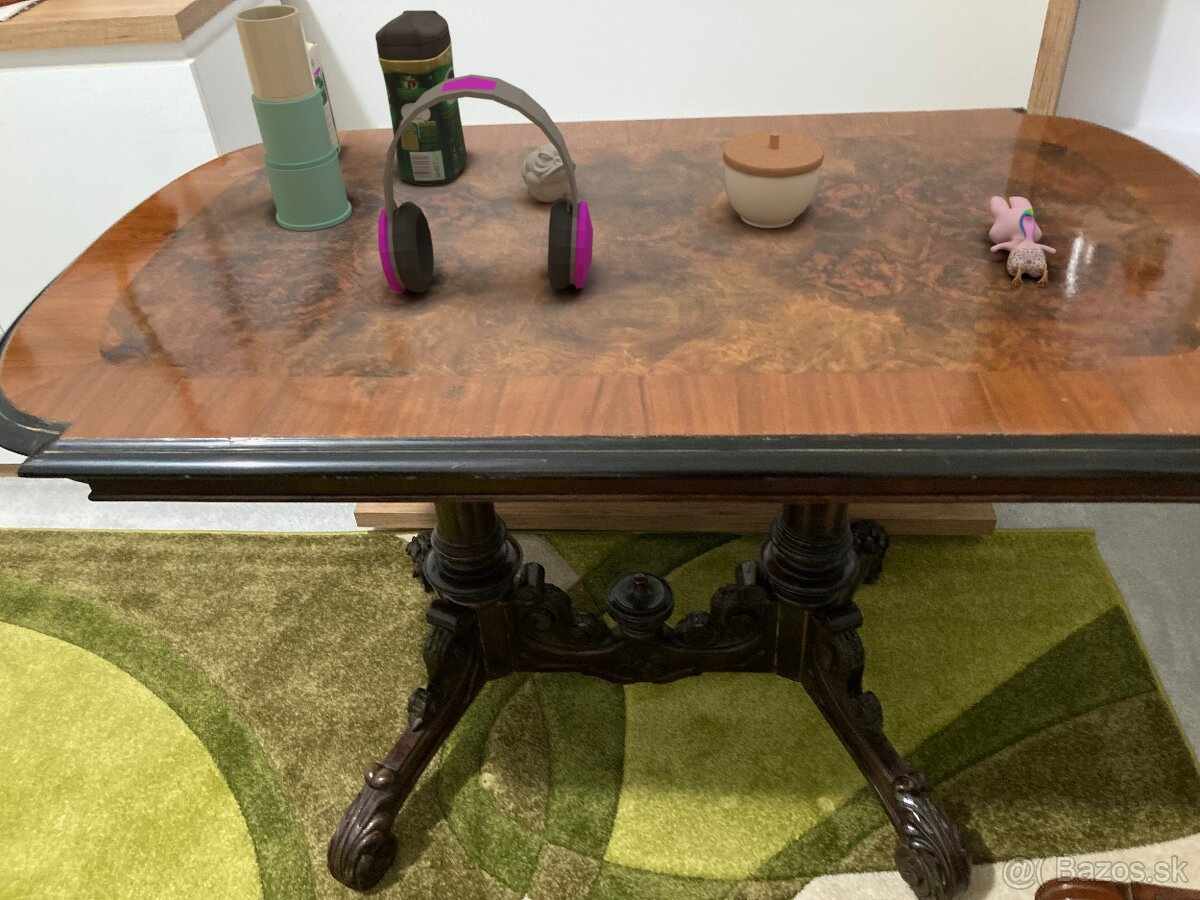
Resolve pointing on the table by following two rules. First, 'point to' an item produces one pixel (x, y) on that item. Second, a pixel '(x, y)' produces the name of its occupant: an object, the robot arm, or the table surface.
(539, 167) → the frog figurine
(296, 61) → the cream cup
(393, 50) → the coffee jar
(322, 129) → the cup stack
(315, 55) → the syrup box
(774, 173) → the lidded sugar bowl
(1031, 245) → the rabbit figure
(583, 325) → the table surface
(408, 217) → the headphones
